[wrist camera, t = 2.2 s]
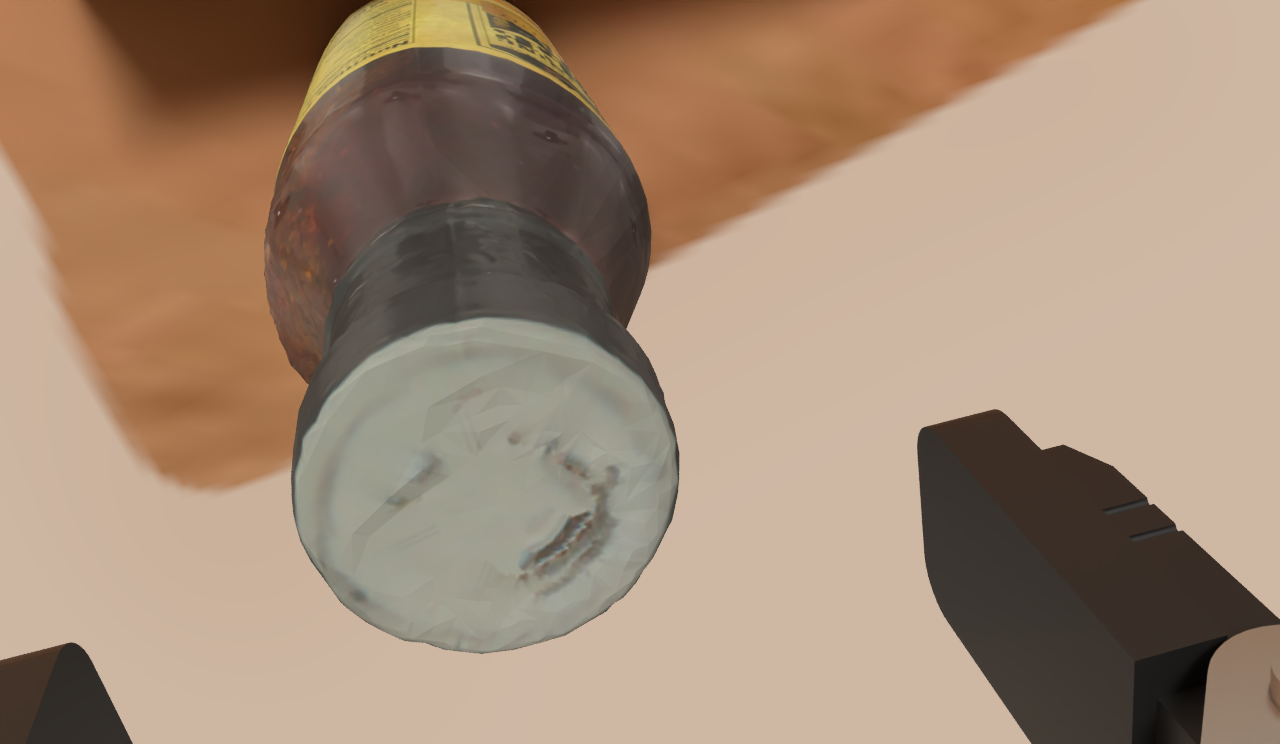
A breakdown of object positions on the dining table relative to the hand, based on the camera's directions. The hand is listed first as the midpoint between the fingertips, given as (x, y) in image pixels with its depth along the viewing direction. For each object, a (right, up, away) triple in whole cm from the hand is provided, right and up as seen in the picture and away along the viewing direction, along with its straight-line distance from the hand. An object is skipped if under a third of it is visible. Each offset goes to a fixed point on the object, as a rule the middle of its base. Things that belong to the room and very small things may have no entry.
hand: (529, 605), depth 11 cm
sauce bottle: (-4, +9, +19) cm, 21 cm away
